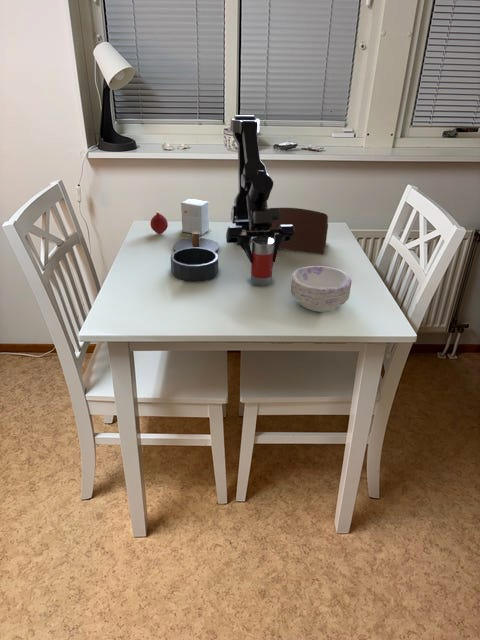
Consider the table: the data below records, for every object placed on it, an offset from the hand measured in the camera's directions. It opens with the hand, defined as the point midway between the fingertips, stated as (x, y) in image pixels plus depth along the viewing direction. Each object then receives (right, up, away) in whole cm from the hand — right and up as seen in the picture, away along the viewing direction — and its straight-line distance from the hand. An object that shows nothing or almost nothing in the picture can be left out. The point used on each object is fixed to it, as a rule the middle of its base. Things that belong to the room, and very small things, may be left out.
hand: (263, 262), depth 134 cm
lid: (-21, +8, +24) cm, 32 cm away
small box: (-22, +15, +38) cm, 47 cm away
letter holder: (+12, +9, +29) cm, 32 cm away
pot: (-20, -2, +9) cm, 22 cm away
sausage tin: (0, -5, +5) cm, 7 cm away
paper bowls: (+14, -12, -6) cm, 19 cm away
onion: (-34, +14, +35) cm, 51 cm away
